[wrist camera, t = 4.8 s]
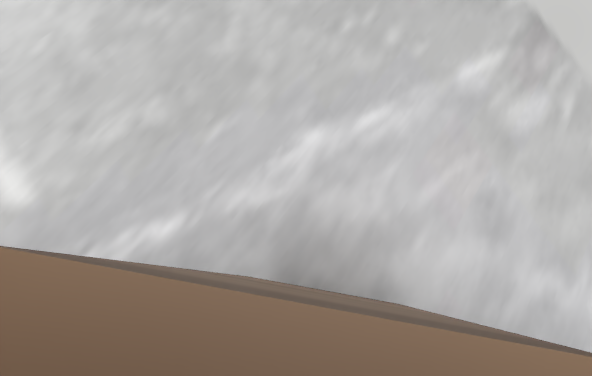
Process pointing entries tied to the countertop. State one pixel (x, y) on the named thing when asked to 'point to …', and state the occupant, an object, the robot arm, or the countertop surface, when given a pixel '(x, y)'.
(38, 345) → the column
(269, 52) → the countertop surface
